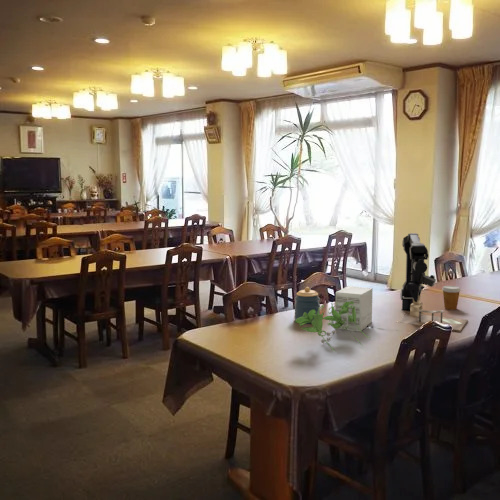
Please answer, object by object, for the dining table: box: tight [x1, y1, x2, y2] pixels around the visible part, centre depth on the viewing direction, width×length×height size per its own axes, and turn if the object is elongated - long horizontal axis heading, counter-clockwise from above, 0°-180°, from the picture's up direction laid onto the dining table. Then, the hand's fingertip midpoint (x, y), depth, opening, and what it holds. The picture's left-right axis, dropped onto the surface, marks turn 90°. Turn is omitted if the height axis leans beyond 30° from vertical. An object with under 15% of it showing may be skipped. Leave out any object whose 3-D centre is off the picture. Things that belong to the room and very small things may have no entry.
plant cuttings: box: [294, 301, 371, 351], centre depth 231 cm, size 35×17×22 cm
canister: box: [293, 286, 321, 325], centre depth 273 cm, size 13×13×18 cm
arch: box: [409, 294, 423, 317], centre depth 267 cm, size 4×8×10 cm, turn 149°
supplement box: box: [334, 285, 373, 333], centre depth 263 cm, size 17×13×18 cm
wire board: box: [396, 309, 469, 333], centre depth 268 cm, size 30×22×7 cm
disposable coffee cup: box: [441, 285, 461, 311], centre depth 298 cm, size 10×10×12 cm
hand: (416, 301), depth 267 cm, fingers closed on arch, 2 cm apart
